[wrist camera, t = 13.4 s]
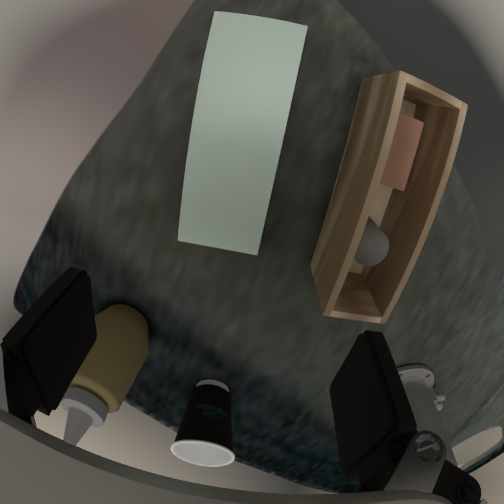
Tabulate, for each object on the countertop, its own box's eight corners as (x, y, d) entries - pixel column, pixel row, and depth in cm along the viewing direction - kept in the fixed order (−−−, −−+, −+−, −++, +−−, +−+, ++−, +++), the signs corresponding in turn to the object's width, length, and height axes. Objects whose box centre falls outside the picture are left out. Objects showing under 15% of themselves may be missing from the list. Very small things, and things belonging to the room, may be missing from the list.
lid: (303, 33, 20) (307, 26, 18) (257, 243, 29) (257, 255, 27) (219, 19, 20) (214, 11, 18) (184, 229, 29) (177, 240, 27)
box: (418, 100, 22) (467, 105, 15) (361, 274, 30) (385, 323, 23) (362, 78, 22) (400, 70, 15) (310, 264, 30) (322, 315, 23)
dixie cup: (230, 369, 38) (222, 441, 28) (246, 402, 41) (242, 466, 31) (176, 374, 39) (158, 440, 29) (197, 405, 42) (186, 466, 33)
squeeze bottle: (164, 347, 36) (123, 472, 20) (110, 342, 37) (58, 451, 21) (148, 295, 33) (84, 431, 17) (90, 294, 33) (16, 407, 17)
